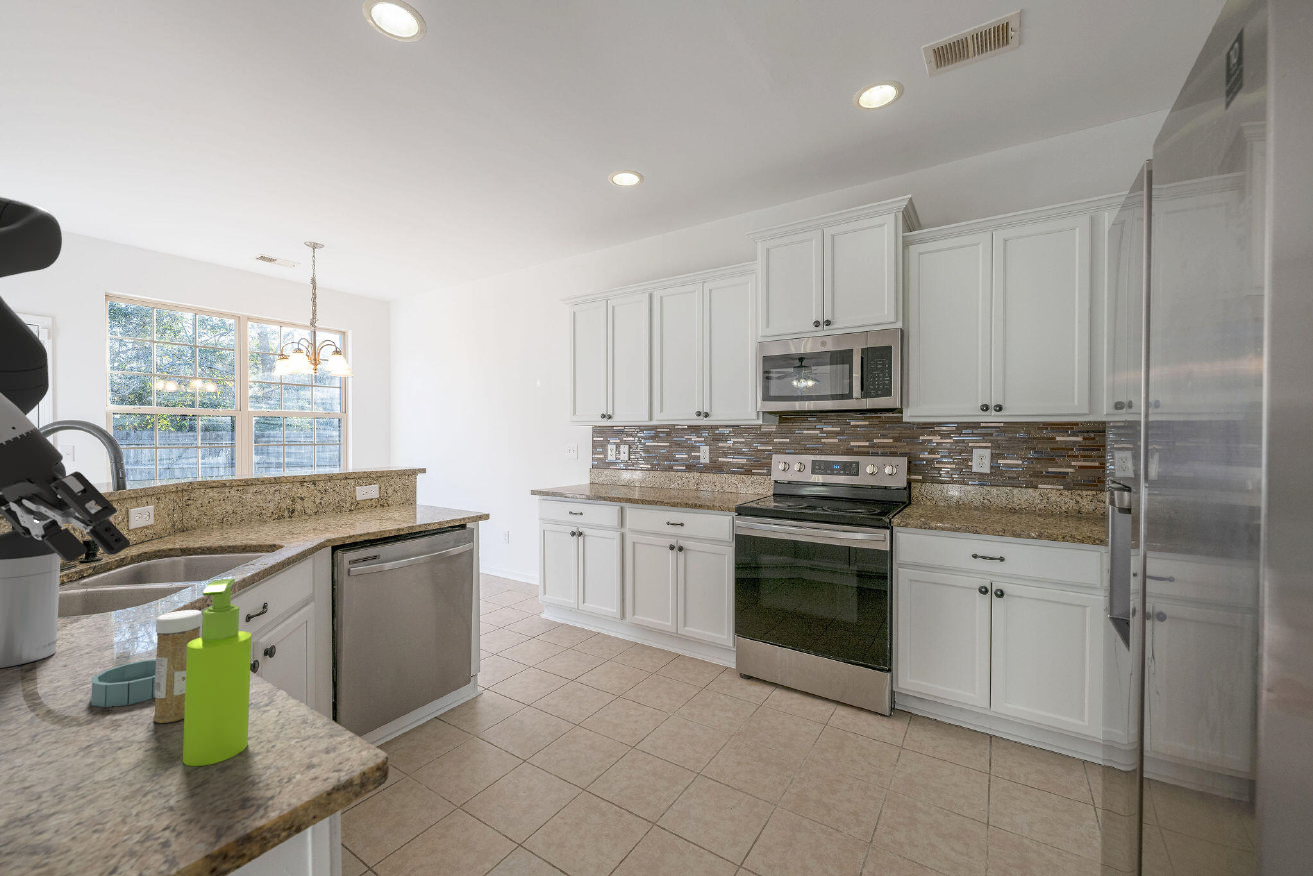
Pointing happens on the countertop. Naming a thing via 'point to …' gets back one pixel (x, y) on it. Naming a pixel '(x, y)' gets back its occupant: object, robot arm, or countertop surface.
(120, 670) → the teal bowl
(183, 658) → the sprinkles bottle
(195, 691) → the soap dispenser
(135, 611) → the countertop surface
